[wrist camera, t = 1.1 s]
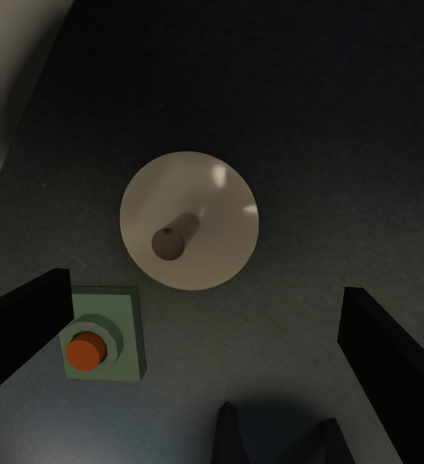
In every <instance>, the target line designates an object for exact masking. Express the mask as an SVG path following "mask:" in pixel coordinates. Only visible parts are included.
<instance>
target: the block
mask: <svg viewBox="0 0 424 464" xmlns="http://www.w3.org/2000/svg"><path fill="white" fill-rule="evenodd" d="M71 290H72V300H73V309H74V318H75V319H74V320H73V321H72V322H70V323H69V324H68V325H67V326H66V327H65V328H64V329H63V330H62V331H60V332H59V338H60V343H61V348H62V354H63V359H64V365H65V370H66V376H67V378H69V379H87V380H105V381H123V382H141V380H142V378H143V376H144V374H145V372H146V363H145V354H144V344H143V335H142V326H141V316H140V307H139V298H138V288H137V287H71ZM83 332H93V333H95V334H97V335H99V336H100V337H101V338H102V339H103V341H104V342H105V344H106V354H105V356H104V358H103V359H102V360H101V362H100V363H99V364H98V366H97V367H96V368H95V369H93V370H90V371H81V370H78V369H76V368H74V367H73V366H72V365H71V364H70V363H69V361H68V360H67V357H66V349H67V346H68V345H69V344H70V343H71V342H72V341H73V340H74V339H75V338H76V337H77V336H78V335H79V334H80V333H83Z"/></svg>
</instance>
